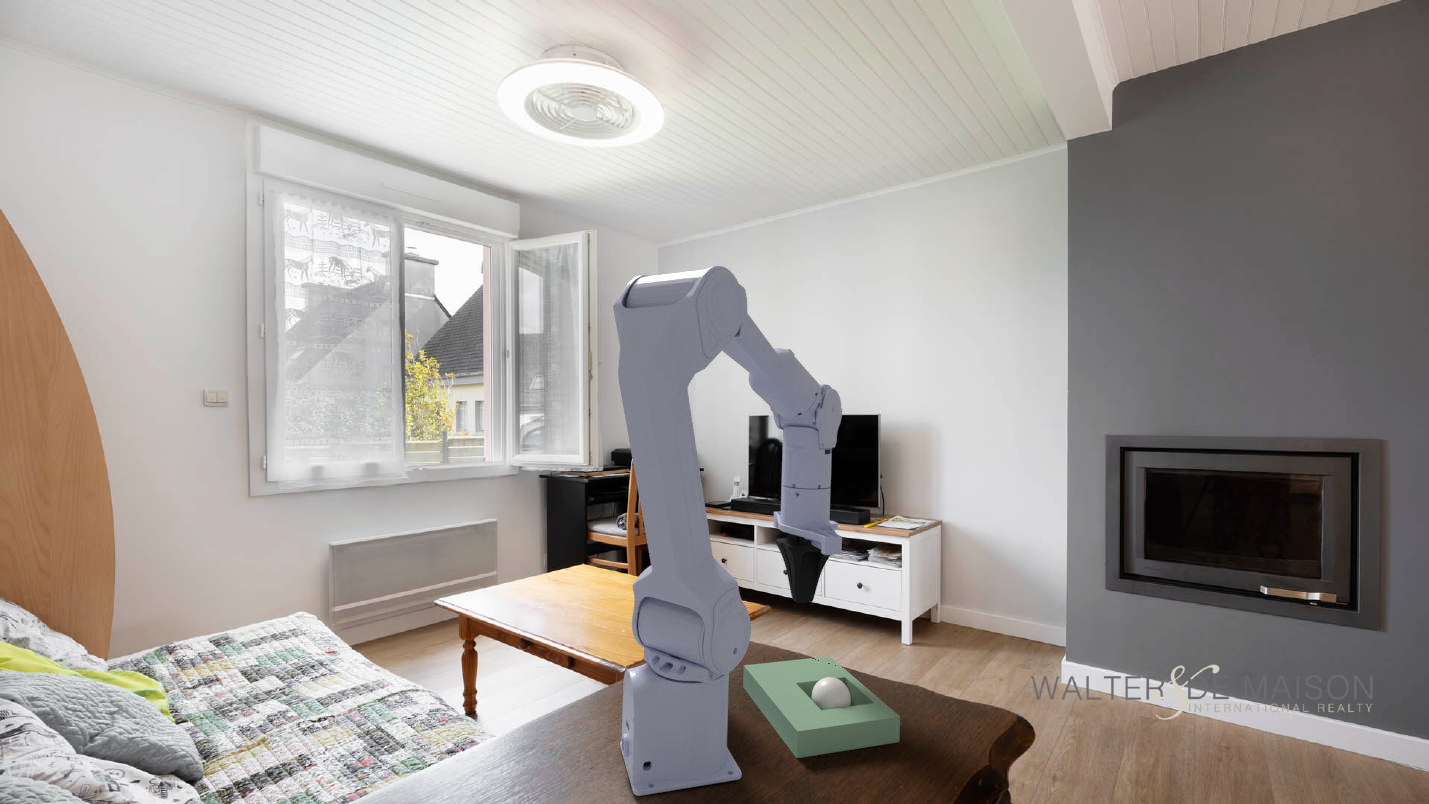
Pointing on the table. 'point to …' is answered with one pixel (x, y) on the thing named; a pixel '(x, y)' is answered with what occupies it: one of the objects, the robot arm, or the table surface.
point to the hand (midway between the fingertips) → (802, 600)
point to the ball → (831, 694)
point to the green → (803, 722)
